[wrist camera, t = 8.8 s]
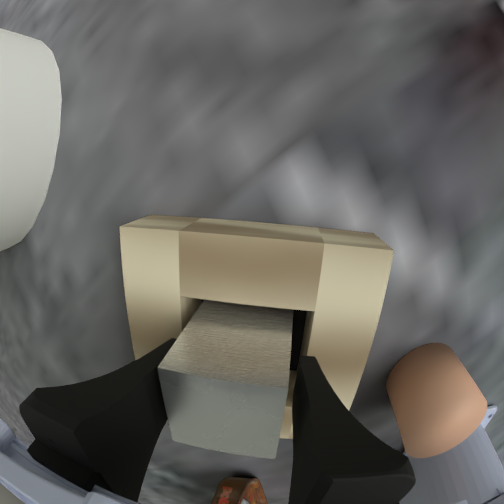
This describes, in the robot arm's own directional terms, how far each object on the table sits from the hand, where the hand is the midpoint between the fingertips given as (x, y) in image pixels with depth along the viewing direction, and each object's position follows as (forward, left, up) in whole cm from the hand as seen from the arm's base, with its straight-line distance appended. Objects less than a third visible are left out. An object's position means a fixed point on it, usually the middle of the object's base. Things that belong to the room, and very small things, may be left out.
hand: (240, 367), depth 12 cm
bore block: (0, 0, -4) cm, 4 cm away
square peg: (0, 0, -4) cm, 4 cm away
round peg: (-3, -11, -4) cm, 12 cm away
